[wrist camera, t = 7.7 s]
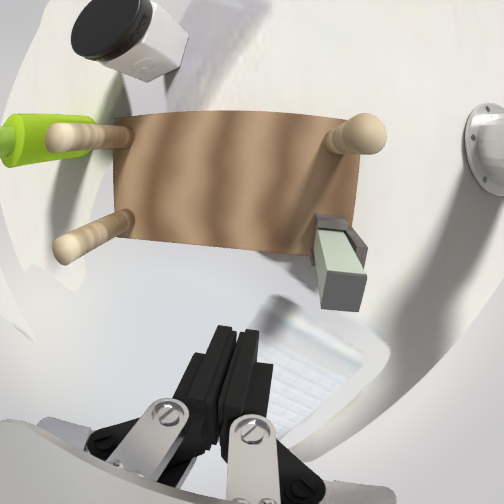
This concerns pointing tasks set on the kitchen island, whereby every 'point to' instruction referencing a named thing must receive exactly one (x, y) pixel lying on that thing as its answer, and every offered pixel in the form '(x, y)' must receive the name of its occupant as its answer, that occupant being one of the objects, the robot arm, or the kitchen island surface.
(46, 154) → the soap dispenser
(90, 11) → the jar
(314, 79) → the kitchen island surface
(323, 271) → the hinged leg
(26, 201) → the kitchen island surface
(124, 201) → the stool seat
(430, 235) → the kitchen island surface
